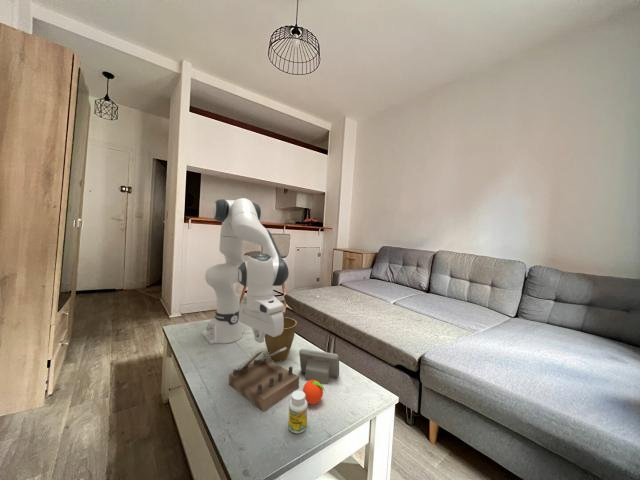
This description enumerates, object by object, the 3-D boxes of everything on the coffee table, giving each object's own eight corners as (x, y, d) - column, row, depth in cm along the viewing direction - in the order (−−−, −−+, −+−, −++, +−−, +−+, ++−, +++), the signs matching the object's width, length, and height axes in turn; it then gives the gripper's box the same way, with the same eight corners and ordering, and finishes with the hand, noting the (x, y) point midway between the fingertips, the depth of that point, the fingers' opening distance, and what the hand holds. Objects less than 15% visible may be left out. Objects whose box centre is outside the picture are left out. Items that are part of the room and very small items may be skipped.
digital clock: (341, 376, 97) (342, 350, 96) (332, 389, 89) (334, 361, 88) (305, 365, 104) (306, 341, 103) (294, 376, 95) (295, 350, 95)
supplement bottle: (308, 421, 74) (309, 390, 73) (304, 435, 68) (305, 402, 68) (291, 418, 75) (292, 387, 74) (286, 432, 69) (287, 399, 69)
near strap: (236, 373, 89) (235, 371, 90) (243, 369, 92) (242, 367, 92) (257, 353, 82) (256, 351, 82) (264, 350, 84) (263, 348, 84)
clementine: (328, 398, 84) (329, 378, 83) (321, 412, 77) (322, 391, 77) (307, 392, 87) (308, 372, 86) (298, 405, 80) (299, 384, 80)
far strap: (256, 363, 96) (256, 361, 97) (262, 360, 99) (262, 358, 99) (280, 351, 88) (279, 349, 88) (286, 348, 90) (285, 346, 90)
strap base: (228, 384, 89) (229, 366, 89) (264, 366, 102) (264, 350, 101) (263, 411, 77) (264, 391, 76) (298, 387, 89) (299, 369, 89)
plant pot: (298, 364, 104) (299, 327, 103) (262, 368, 100) (263, 330, 99) (292, 347, 118) (293, 315, 118) (261, 350, 114) (262, 317, 114)
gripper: (234, 297, 87) (233, 335, 87) (272, 310, 74) (271, 354, 75) (249, 294, 92) (248, 330, 92) (287, 305, 79) (286, 347, 80)
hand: (259, 341), depth 83 cm, fingers closed
